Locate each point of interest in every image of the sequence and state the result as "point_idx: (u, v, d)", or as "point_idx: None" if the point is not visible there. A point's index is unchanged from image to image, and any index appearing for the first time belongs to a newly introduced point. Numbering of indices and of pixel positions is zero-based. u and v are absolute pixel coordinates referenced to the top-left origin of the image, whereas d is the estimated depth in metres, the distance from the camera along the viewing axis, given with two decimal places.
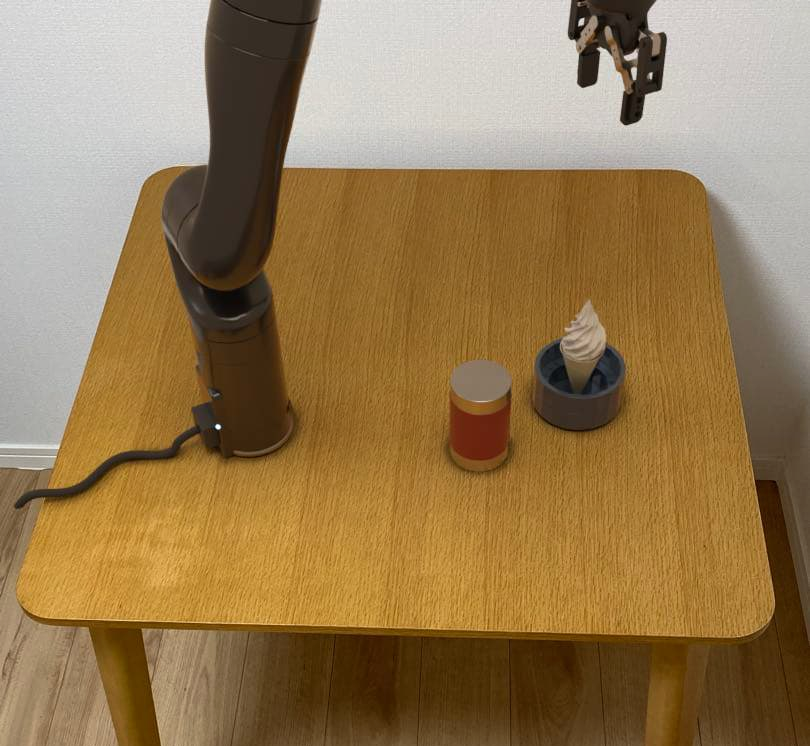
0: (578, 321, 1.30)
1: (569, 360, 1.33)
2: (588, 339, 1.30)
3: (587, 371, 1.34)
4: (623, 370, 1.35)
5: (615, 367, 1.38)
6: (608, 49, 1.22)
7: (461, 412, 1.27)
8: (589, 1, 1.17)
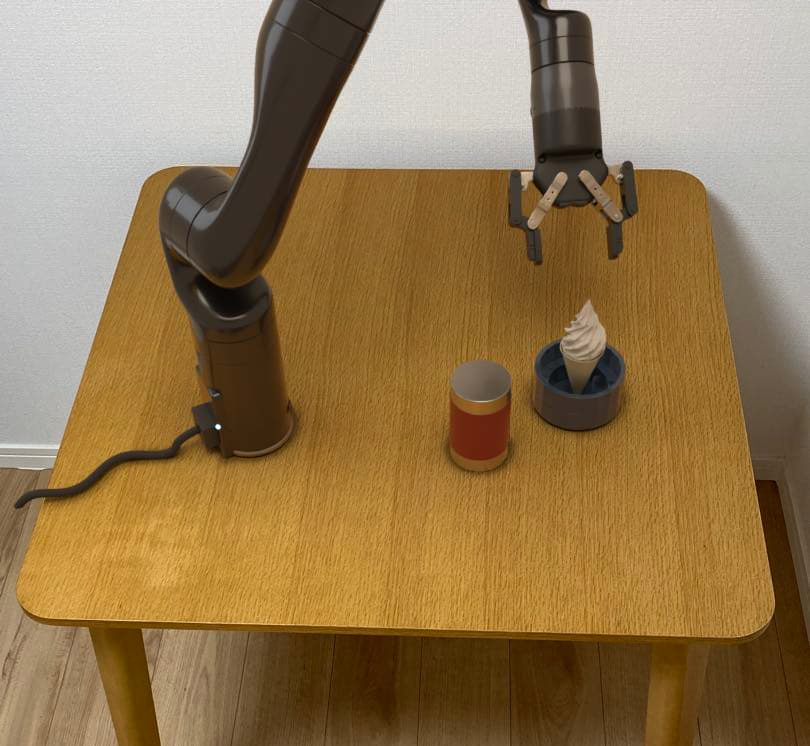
0: (578, 321, 1.30)
1: (569, 360, 1.33)
2: (588, 339, 1.30)
3: (587, 371, 1.34)
4: (623, 370, 1.35)
5: (615, 367, 1.38)
6: (577, 200, 1.31)
7: (461, 412, 1.27)
8: (575, 144, 1.28)
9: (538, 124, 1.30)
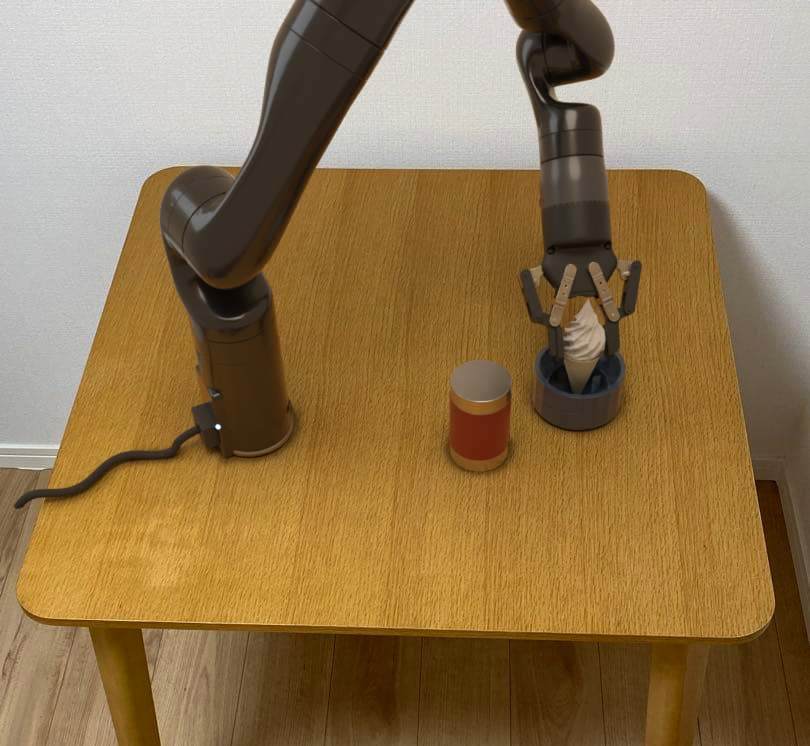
0: (577, 321, 1.30)
1: (569, 360, 1.33)
2: (587, 339, 1.30)
3: (587, 371, 1.34)
4: (623, 370, 1.35)
5: (615, 367, 1.38)
6: (586, 291, 1.31)
7: (461, 412, 1.27)
8: (584, 237, 1.28)
9: (547, 216, 1.29)
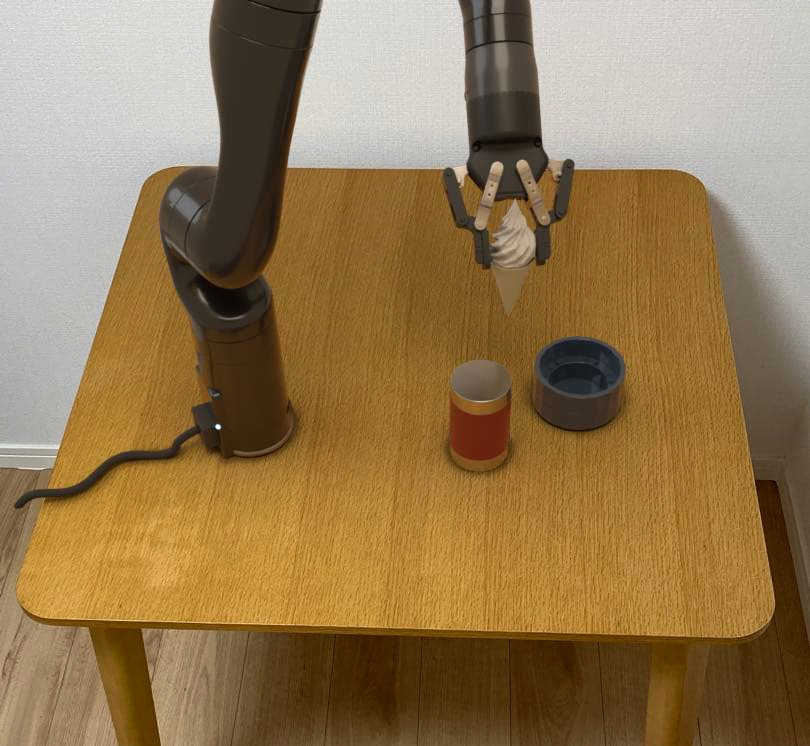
0: (504, 224, 1.20)
1: (497, 268, 1.23)
2: (515, 244, 1.21)
3: (517, 282, 1.25)
4: (623, 370, 1.35)
5: (615, 367, 1.38)
6: (514, 192, 1.21)
7: (461, 412, 1.27)
8: (511, 131, 1.18)
9: (472, 109, 1.20)
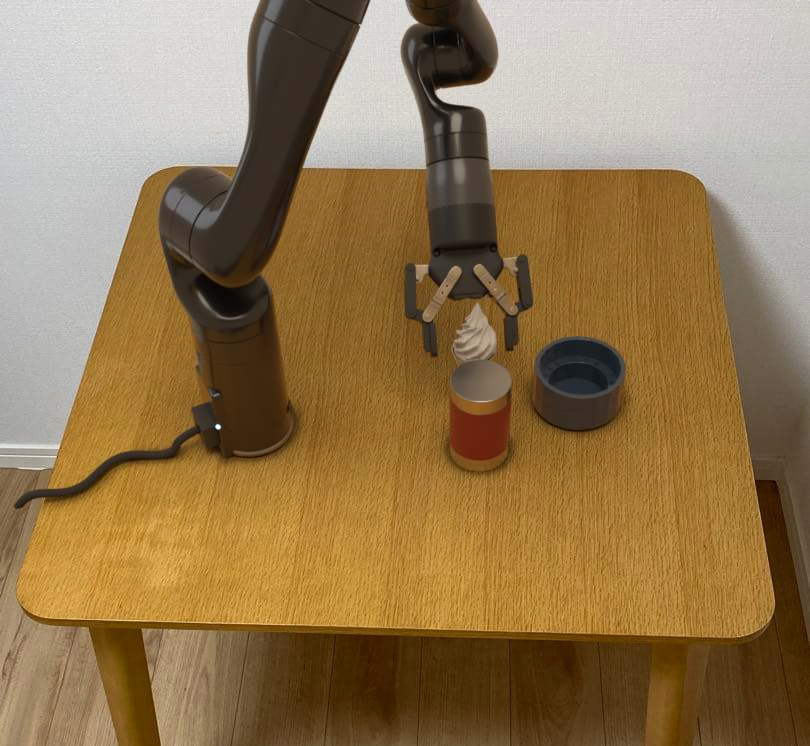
0: (467, 323, 1.31)
1: (460, 362, 1.34)
2: (477, 342, 1.31)
3: None
4: (623, 370, 1.35)
5: (615, 367, 1.38)
6: (472, 293, 1.31)
7: (461, 412, 1.27)
8: (467, 239, 1.28)
9: (432, 218, 1.30)
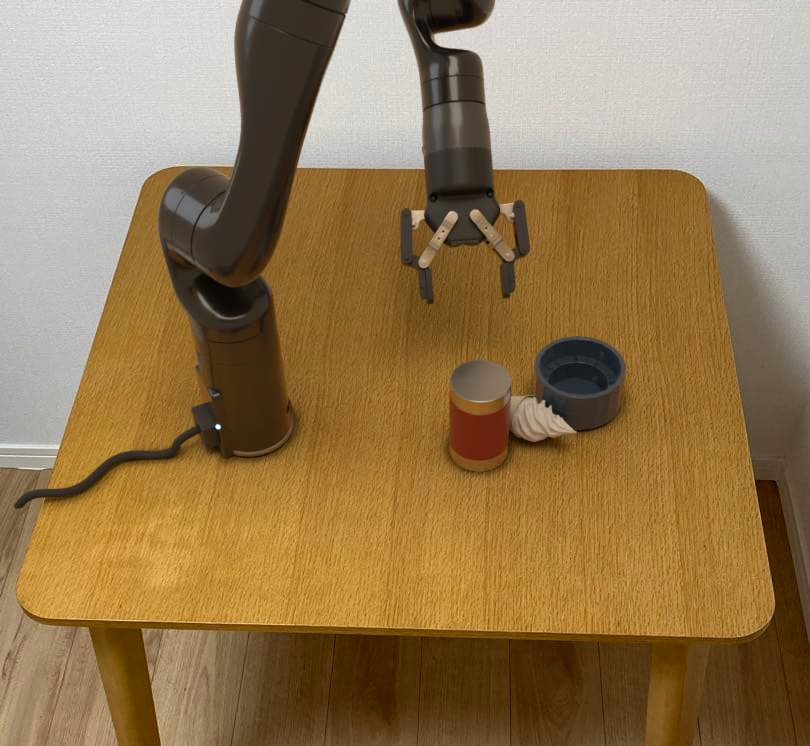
0: (551, 428, 1.32)
1: (510, 423, 1.34)
2: (539, 438, 1.34)
3: None
4: (623, 370, 1.35)
5: (615, 367, 1.38)
6: (469, 239, 1.31)
7: (460, 412, 1.27)
8: (464, 184, 1.27)
9: (428, 163, 1.29)
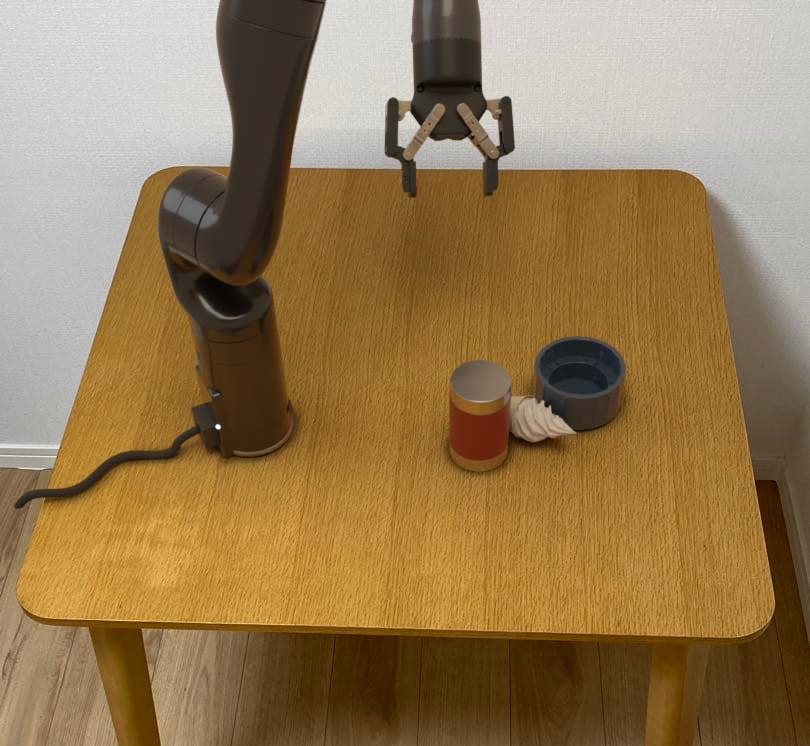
0: (550, 429, 1.32)
1: None
2: (539, 438, 1.34)
3: None
4: (623, 370, 1.35)
5: (615, 367, 1.38)
6: (454, 133, 1.30)
7: (460, 412, 1.27)
8: (454, 76, 1.26)
9: (418, 52, 1.27)
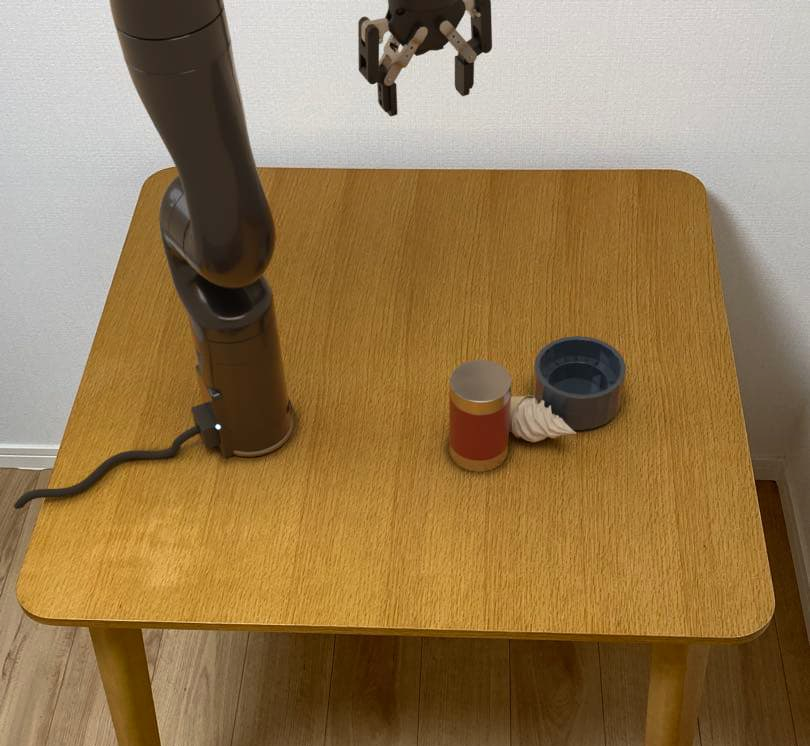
0: (550, 429, 1.32)
1: None
2: (539, 438, 1.34)
3: None
4: (623, 370, 1.35)
5: (615, 367, 1.38)
6: (434, 47, 1.21)
7: (460, 412, 1.27)
8: (442, 7, 1.15)
9: None
